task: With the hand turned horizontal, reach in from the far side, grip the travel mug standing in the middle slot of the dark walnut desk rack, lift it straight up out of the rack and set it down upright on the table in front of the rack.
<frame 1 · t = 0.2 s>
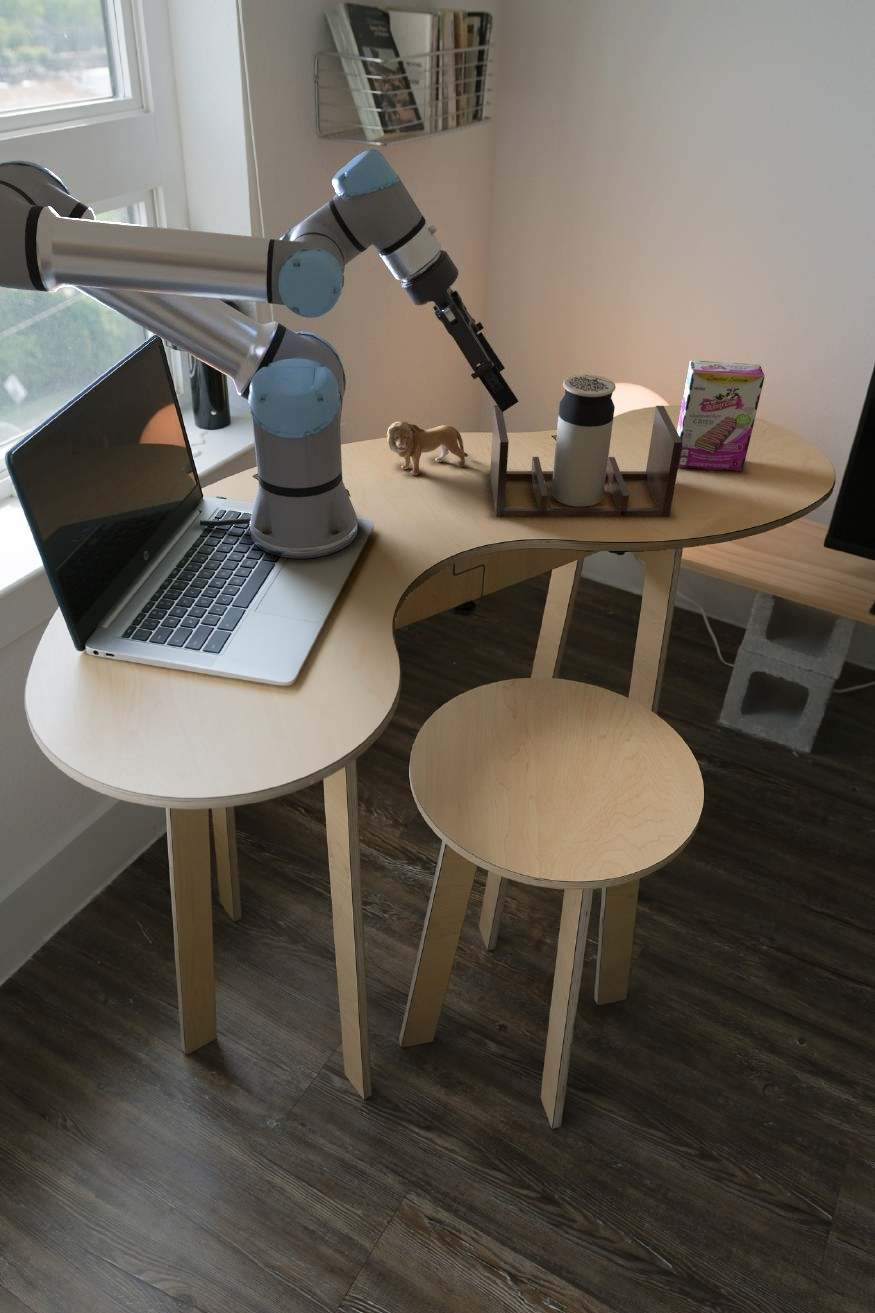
hand: (503, 389, 146), 16 cm above the table, tool tilted 35°, fingers open, 13 cm apart
lion figurine: (426, 470, 161), on the table
candy bar box: (707, 465, 164), on the table
travel mug: (576, 497, 154), resting in rack
rack: (577, 496, 154), on the table
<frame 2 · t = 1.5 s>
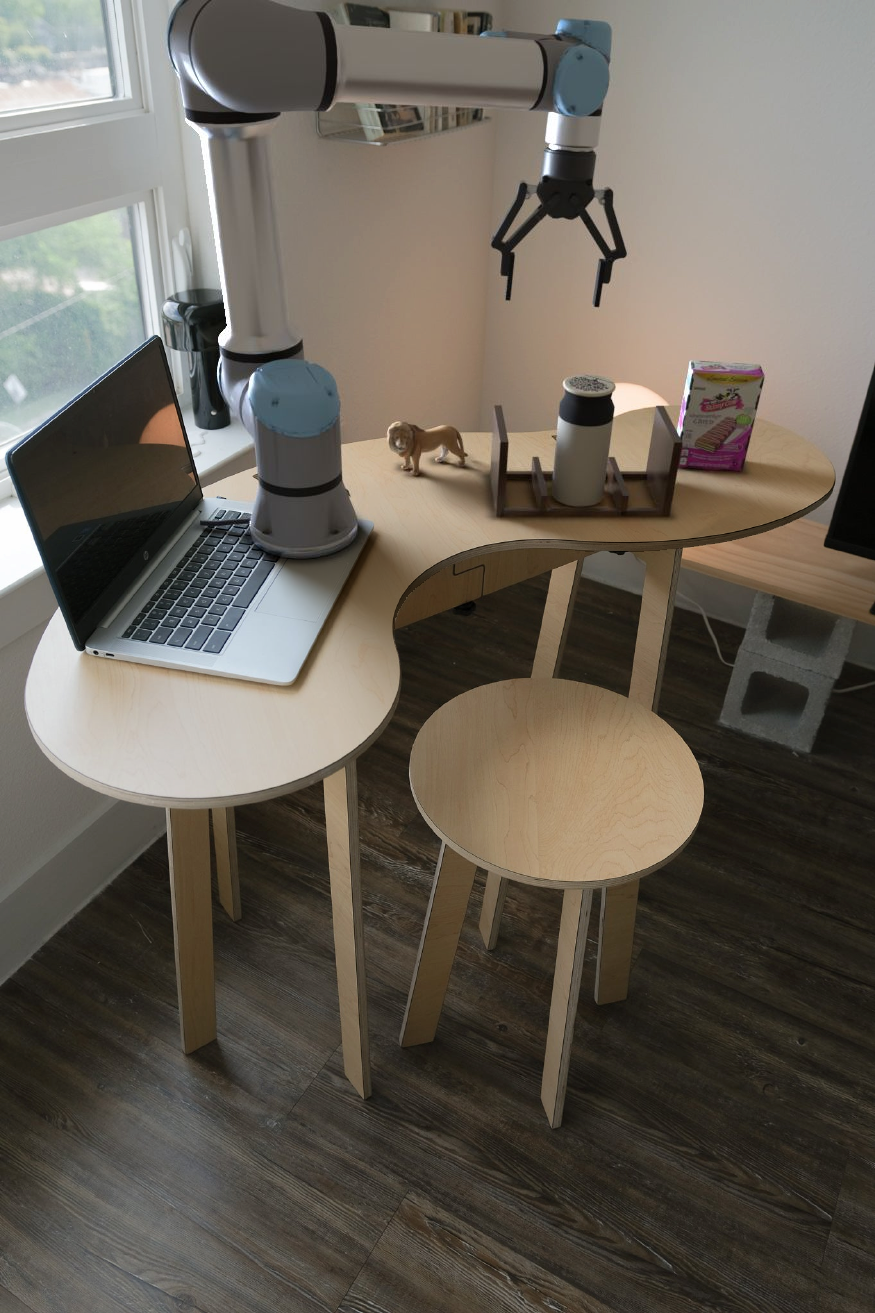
hand: (551, 302, 154), 24 cm above the table, tool pointing down, fingers open, 13 cm apart
nothing on the table moved.
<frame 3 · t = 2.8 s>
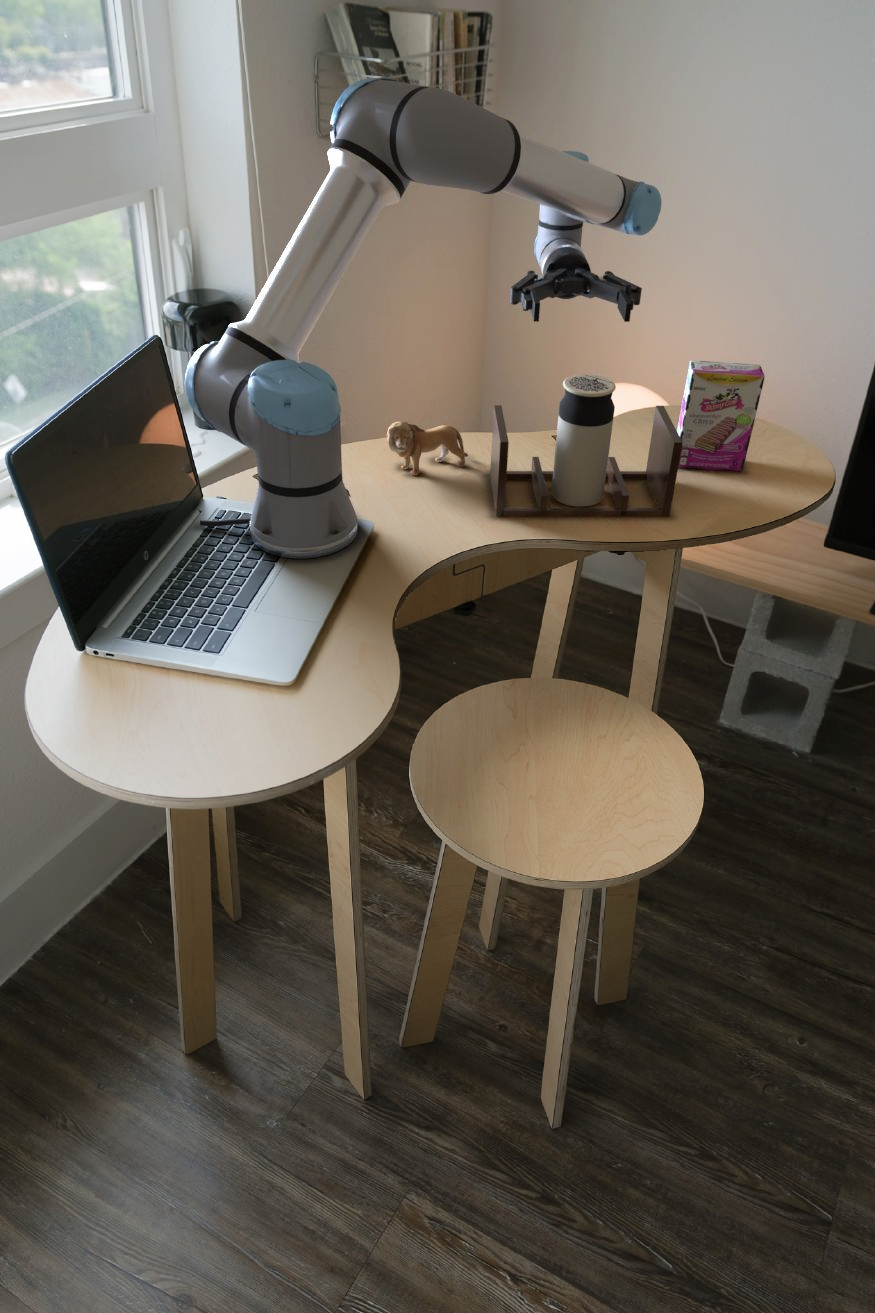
hand: (582, 312, 149), 24 cm above the table, tool horizontal, fingers open, 13 cm apart
nothing on the table moved.
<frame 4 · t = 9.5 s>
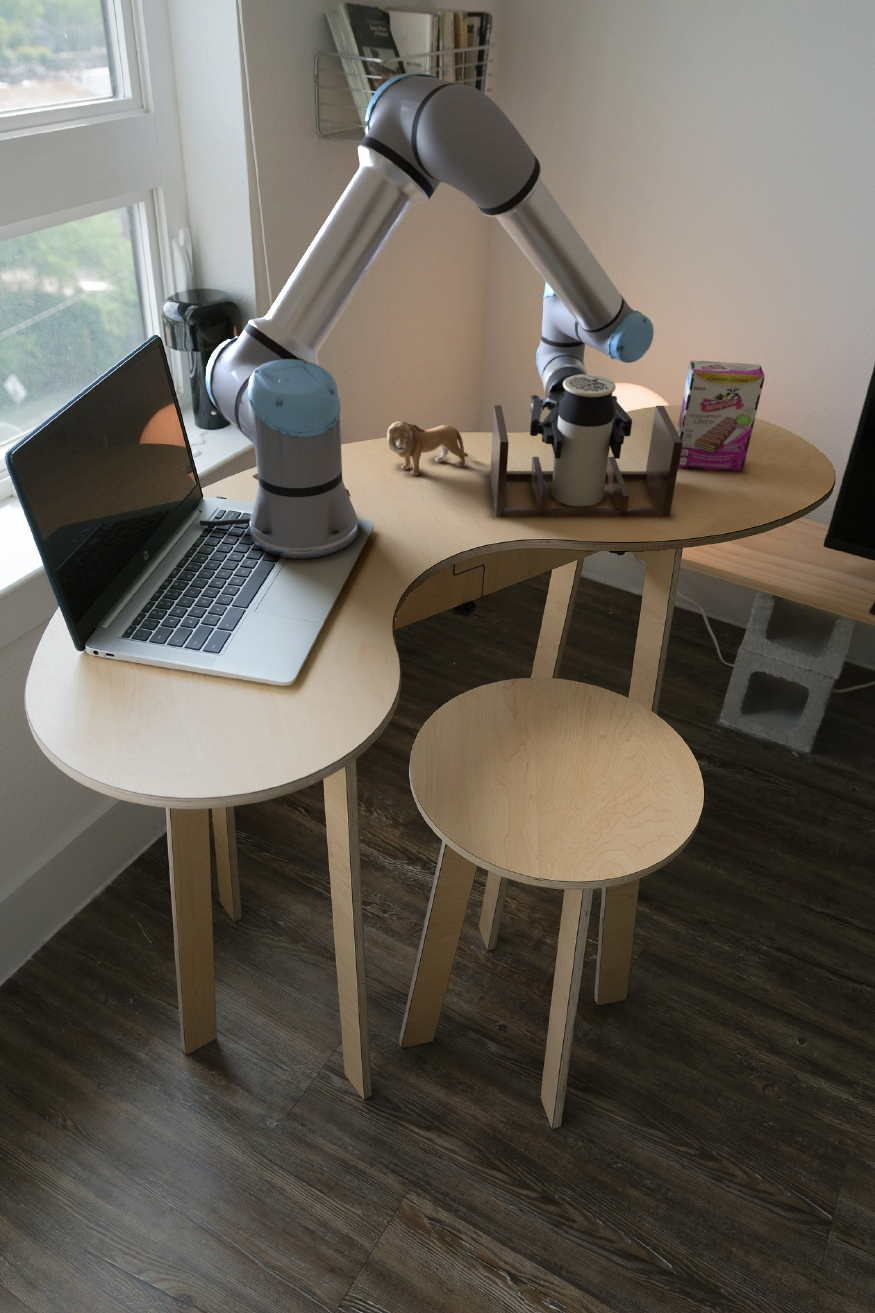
hand: (588, 449, 144), 10 cm above the table, tool horizontal, fingers closed on travel mug, 8 cm apart
travel mug: (577, 497, 154), resting in rack, touching gripper
everything else where it was.
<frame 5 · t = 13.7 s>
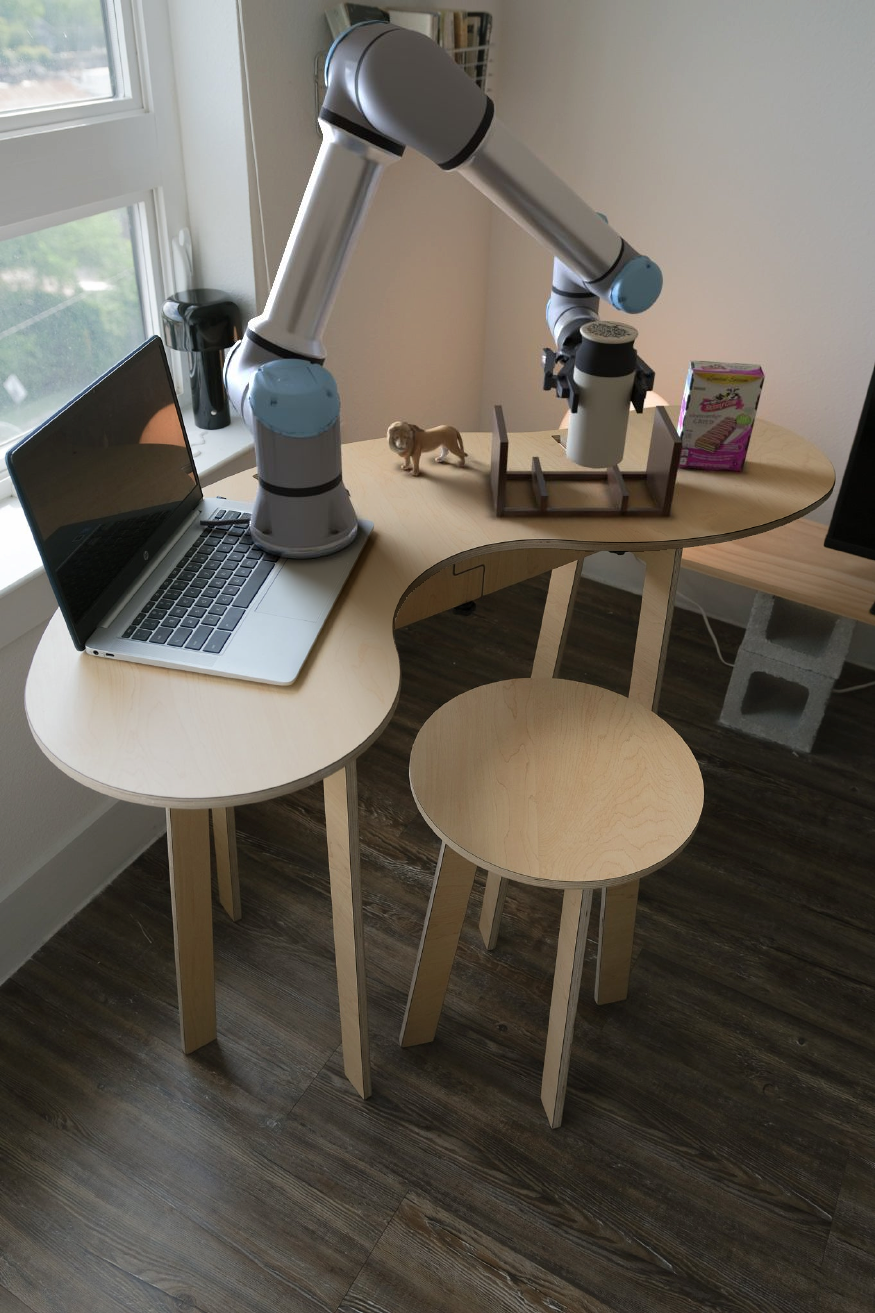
hand: (608, 403, 131), 21 cm above the table, tool horizontal, fingers closed on travel mug, 8 cm apart
travel mug: (593, 458, 141), point 11 cm above the table, touching gripper
everything else where it was.
when the fingers open (10 cm above the table, at t = 17.9 s): travel mug stays where it is, on the table.
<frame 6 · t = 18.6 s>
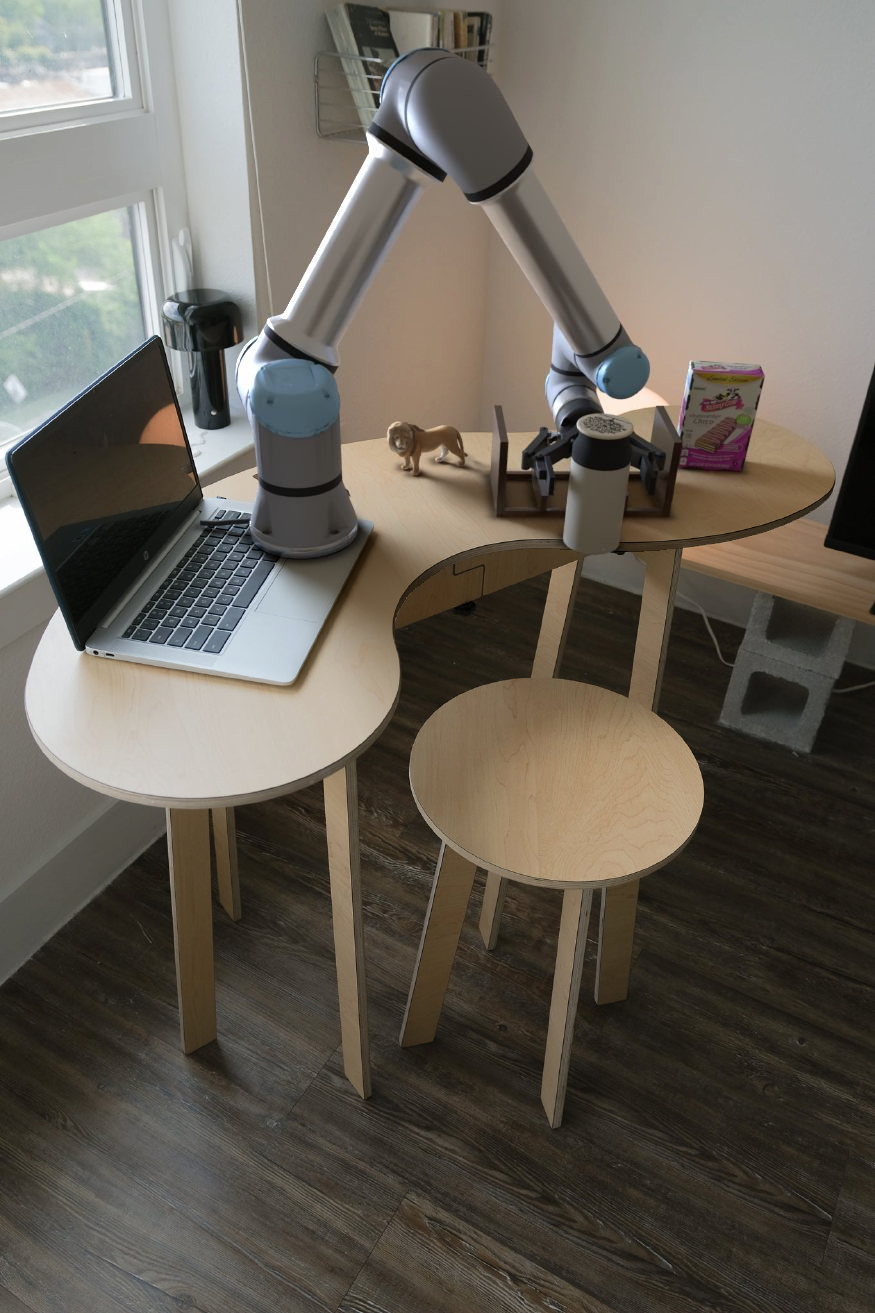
hand: (602, 486, 134), 11 cm above the table, tool horizontal, fingers open, 13 cm apart
travel mug: (590, 543, 143), on the table
everything else where it was.
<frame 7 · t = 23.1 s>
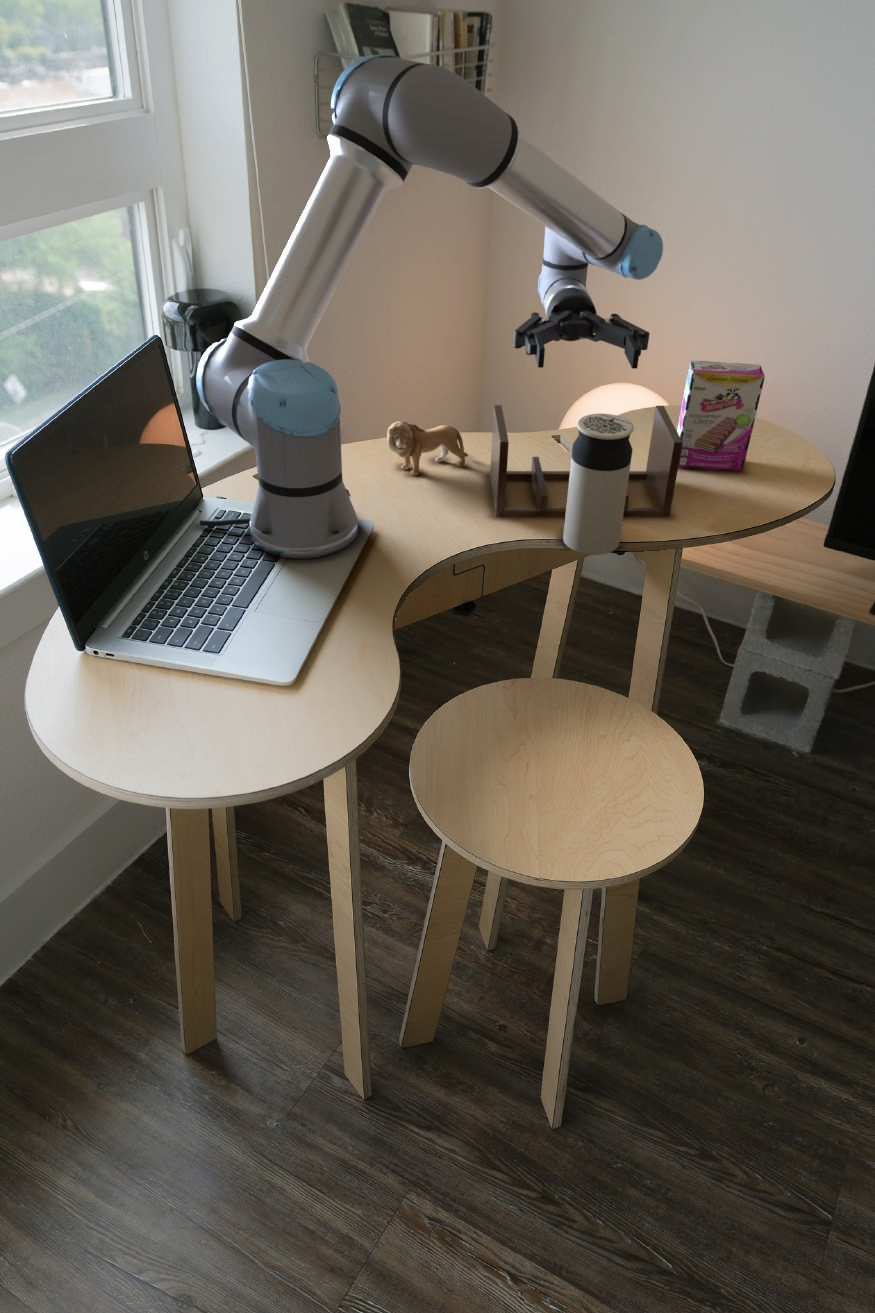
hand: (588, 358, 143), 21 cm above the table, tool horizontal, fingers open, 13 cm apart
nothing on the table moved.
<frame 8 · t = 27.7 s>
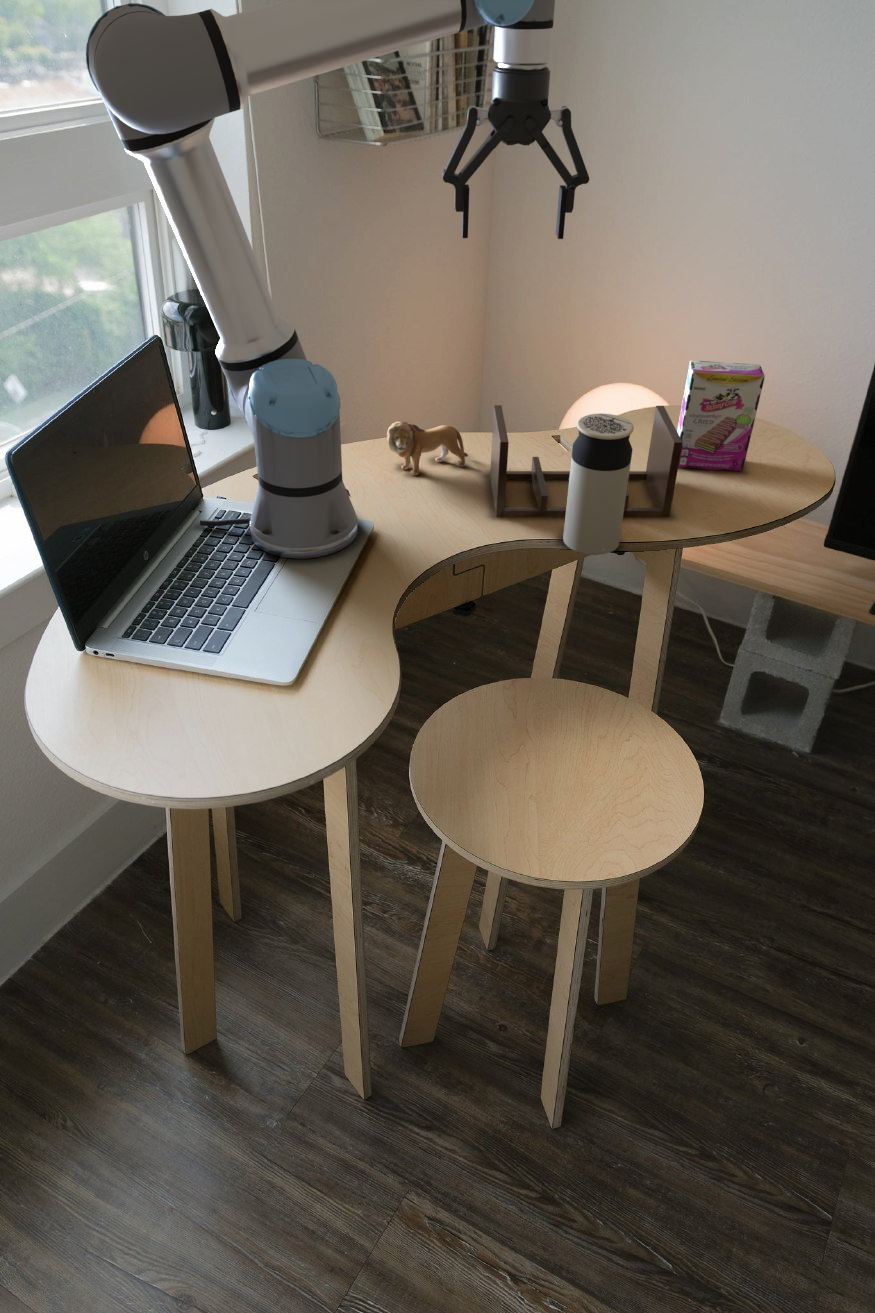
hand: (512, 236, 143), 35 cm above the table, tool pointing down, fingers open, 13 cm apart
nothing on the table moved.
at the end: travel mug inside the target area (0.0 cm from its centre), on the table; travel mug tilted 0°; travel mug touching table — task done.
